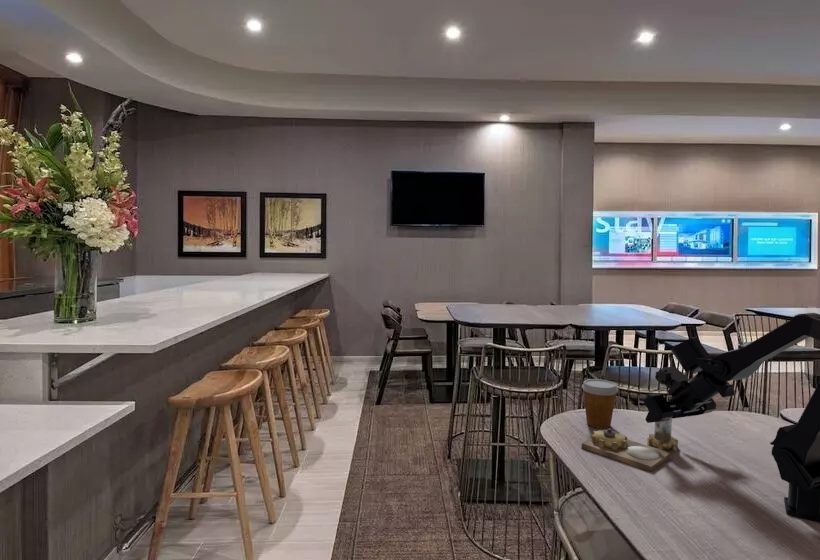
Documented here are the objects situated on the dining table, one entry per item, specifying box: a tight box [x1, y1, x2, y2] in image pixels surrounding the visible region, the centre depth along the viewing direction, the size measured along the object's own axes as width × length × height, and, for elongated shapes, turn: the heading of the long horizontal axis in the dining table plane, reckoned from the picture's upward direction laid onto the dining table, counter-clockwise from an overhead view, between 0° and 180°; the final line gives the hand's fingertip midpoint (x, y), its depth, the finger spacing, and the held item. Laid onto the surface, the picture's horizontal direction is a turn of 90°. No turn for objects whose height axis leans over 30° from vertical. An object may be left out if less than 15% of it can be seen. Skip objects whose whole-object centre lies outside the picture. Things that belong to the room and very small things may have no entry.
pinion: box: [646, 418, 679, 452], centre depth 122 cm, size 7×7×10 cm
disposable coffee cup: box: [581, 378, 619, 429], centre depth 137 cm, size 10×10×12 cm
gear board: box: [581, 427, 672, 472], centre depth 119 cm, size 17×11×5 cm, turn 41°
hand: (658, 418), depth 124 cm, fingers open, 8 cm apart
